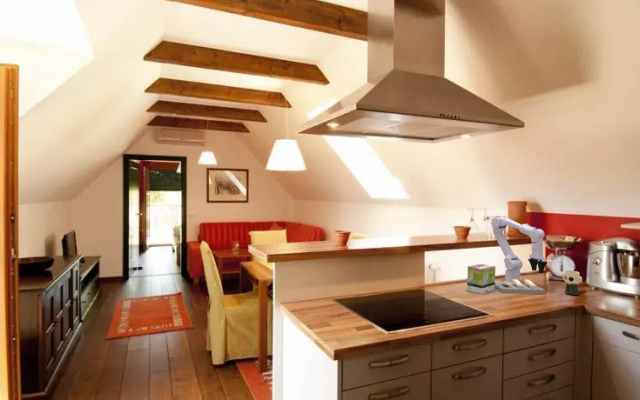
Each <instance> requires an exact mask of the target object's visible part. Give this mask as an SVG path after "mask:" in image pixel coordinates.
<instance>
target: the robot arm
mask: <svg viewBox="0 0 640 400" xmlns="http://www.w3.org/2000/svg"><path fill="white" fill-rule="evenodd" d="M490 224H491V226H492V234H493V235H494V237H495V240H496V241H497V244H498V245H499V248H500V249H501V251H502V254H503V255H504V258H503V262H504V267H505V269H506V270H505V271H504V282H511V283H513V282H512V279H517V280H518V281H519V282H521V269H522V268H523V267H524V265H523V264H524V263H523V261H522V260H521V259H520V258H519V257H518V255H516V254H515V253H514V251H513V249H512V248H511V246H510V244H509V242H508V239H507V238H506V236H505V233H504V230H505V229H506V228H507V227H512V228H514V229H517V230H519V232H520V233H522V234H524V235H526V236H528V237H529V238H530V240H531V254H529V258H527V260H528V262H529V264H530V268H531V271H536V272H537V270H538V272H539V274H545V273H544V272H545V270H546V269H545V268H546V266H547V265H548V264H549V263H548V261H547V258H546V257H544V247H543V245H544V243H543V239H544V237H545V236H546V235H545V231H544V230H543V229H542V228H536V227H535V226H531V225H530V224H529V223H523V224H521V223H518V222H517V221H514V220H512V219H511V218H509V217H506V216H502V217H500V216H498V217H496V216H495V217H492V219H491V221H490ZM537 268H538V269H537Z"/></svg>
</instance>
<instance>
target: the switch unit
mask: <svg viewBox="0 0 640 400" xmlns="http://www.w3.org/2000/svg"><path fill="white" fill-rule="evenodd" d="M521 283H522V282H521ZM522 284H523V285H524V288H518V287H517V286H516V285H515V284H514V283H511V285H505V284H500V282H495V290H496V291H497V292H499V293H501V294H514V295H515V294H518V295H519V294H521V295H523V294H524V295H546V289H545V288H542V287H540V286H538V285H536V288H531V287H529V286H528V285H527V284H526V283H525V282H524V283H522Z"/></svg>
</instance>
